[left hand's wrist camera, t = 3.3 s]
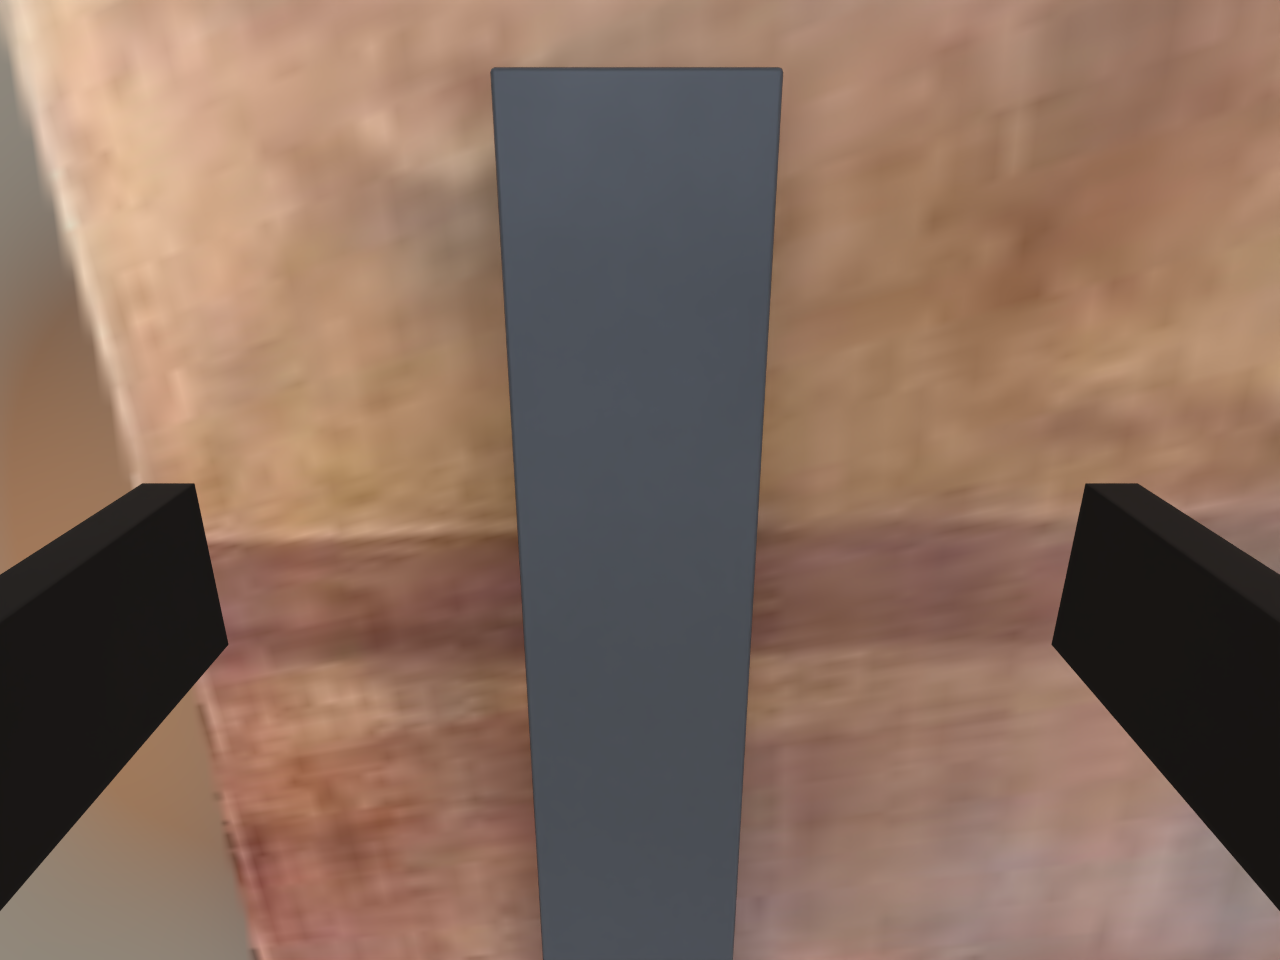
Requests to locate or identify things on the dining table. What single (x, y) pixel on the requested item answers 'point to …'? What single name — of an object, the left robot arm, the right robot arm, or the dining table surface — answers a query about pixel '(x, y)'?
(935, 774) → the dining table surface
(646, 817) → the beam
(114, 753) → the left robot arm
